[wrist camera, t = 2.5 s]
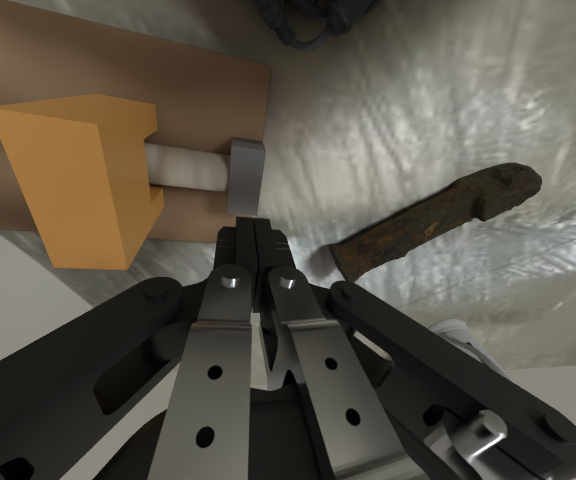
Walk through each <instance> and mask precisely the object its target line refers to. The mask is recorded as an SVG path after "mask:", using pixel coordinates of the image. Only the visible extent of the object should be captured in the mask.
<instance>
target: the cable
mask: <svg viewBox="0 0 576 480" xmlns="http://www.w3.org/2000/svg"><path fill="white" fill-rule="evenodd" d="M289 1H290V2H291V3H292V4H293V5H294V6H295V7H296V8H298V9H299V10H300V11H301V12H303V13H304V14H306V15H307V16H309V17H311V18H313V19H315V20H317V21H320V22H322V23H326V29H325V30H324V31H323V32H322V33H321V34H320V35H319V36H318V37H317V38H315V39H314V40H312V41H310V42H306V43H305V42H301V41H298V40H297V39H296V34H295V32H294V31H293V29H292V28H291V26H290V25H289V24H288V22H287V20H286V16H285V13H284V11H283V4H284V0H253V2H254V4H255V6H256V7H257V9H258V11H259V12H260V14H261V15H262V17H263V19H264V20H265V22H266V23H267V24H268V26H269V27H270V28H271V29H272V30H273V31H276V32H277V35H278V37H279V38H280V40H282V42H283V43H284V45H286V46H288V45H290V46H292V47H293V48H295V49H297V50H299V51H311V50H314V49H316V48H318V47H319V46H321V45H322V44H323V43H324V42H326V41H327V40H328V39H329V38H330V37H331V36H332V35H333V36H337V35H339V34H344V33H346V32H348V31H349V30H350V28H351V27H352V25H353V24H354V23H355V22H356V21H357V20H358V19H359V18H361V17H362V16H364V15H365V14H367V13H369V12H370V11H371V10H372V9H374V8H375V7H376V6H377V5H378V4H379V3H380V2H381V1H382V0H333V1H334V2H333V3H332V4H331V5H330V7H329V8H326V7H322V6H320V5H319V1H318V0H289Z"/></svg>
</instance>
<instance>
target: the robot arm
mask: <svg viewBox="0 0 576 480" xmlns="http://www.w3.org/2000/svg"><path fill="white" fill-rule="evenodd" d="M252 308H253V313H260V325H259V334H260V340H261V346H262V351H263V357H264V363H265V368H266V374H267V384H268V387H267V391H266V390H260V389H255V388H250V378H251V343H252V325H250V317H251V310H252ZM356 330H357V331H358V332H359V333H361V334H362V335H364V336H365V337H366V338H368V339H369V340H370V341H372V342H373V343H374V344H376V345H377V346H378V347H380V348H381V349H383V350H384V351H385V352H387V353H388V354H389V355H390V356H391V357H392V359H393V361H388V360H385V359H384V358H382V357H381V356H380V355H378V354H377V353H376V352H374V351H373V350H372V349H370V348H369V347H368V346H366V345H365V344H364V343H362V342H361V341H360V340H358V339H357V338H356V337H354V334H355V332H356ZM180 361H181V362H180ZM179 362H180V366H179V369H178V373H177V377H176V380H175V383H174V387H173V391H172V394H171V398H170V401H169V405H168V408H167V409H166V410H165V411H163V412H161V413H160V414H158V415H157V416H155V417H154V418H152V419H151V420H150V421H148V422H147V423H146V424H145V425H143V426H142V427H141V428H140V429H139V430H138V431H137V432H136V433H135V434H133V435H132V436H131V437H130V438H129V440H128V441H127V442H126V443H125V444H124V445H123V446H122V447H121V448H120V449H119V450H118V452H117V453H116V454H115V455H114V456H113V457H112V458H111V459H110V460H109V462H108V463H107V464H106V465H105V466H104V467H103V469H101V471H100V472H99V473H98V474H97V475H96V476H95V477H94V478H93V479H92V480H571V479H573V478H576V426H575V425H574V424H573V423H572V422H571V421H570V420H568V419H567V418H566V417H565V416H564V415H562V414H561V413H560V412H558V411H557V410H556V409H554V408H553V407H551V406H549V405H548V404H546V403H544V402H543V401H541V400H540V399H538V398H537V397H535V396H533V395H532V394H530V393H529V392H527V391H526V390H524V389H522V388H521V387H519V386H518V385H516V384H514V383H513V382H511V381H510V380H508V379H507V378H505V377H503V376H502V375H500V374H499V373H497V372H495V371H494V370H492V369H491V368H489V367H487V366H486V365H484V364H483V363H481V362H479V361H478V360H476V359H475V358H473V357H472V356H470V355H468V354H467V353H465V352H464V351H462V350H460V349H459V348H457V347H456V346H454V345H452V344H451V343H449V342H448V341H446V340H444V339H443V338H441V337H440V336H438V335H437V334H435V333H433V332H432V331H430V330H429V329H427V328H425V327H424V326H422V325H421V324H419V323H417V322H416V321H414V320H413V319H411V318H410V317H408V316H406V315H405V314H403V313H402V312H400V311H398V310H397V309H395V308H394V307H392V306H390V305H389V304H387V303H386V302H384V301H382V300H381V299H379V298H378V297H376V296H375V295H373V294H371V293H370V292H368V291H367V290H365V289H363V288H362V287H360V286H359V285H357V284H355V283H352V282H349V281H336V282H334V283H333V284H332V285H331V287H330V289H327V288H323V287H319V286H316V285H313V284H310V283H309V282H308V280H307V278H306V276H305V275H304V274H303V273H302V272H301V271H299V270H298V269H296V266H295V263H294V260H293V257H292V254H291V250H290V247H289V244H288V241H287V238H286V236H285V235H284V234H283V233H282V232H281V231H280V230H273V229H272V228H271V224H270V220H269V219H265V218H253V219H252V218H251V217H238V216H236V224H235V227H228V226H223V227H222V228H221V229H220V230H219V231H218V235H217V243H216V251H215V259H214V267H213V270H212V271H211V273H210V274H209V277H208V278H207V279H205V280H204V281H202V282H199V283H197V284H193V285H188V286H184V287H182V285H181V284H180V283H179V282H178V281H177V280H175V279H172V278H169V277H154V278H150V279H147V280H144V281H142V282H140V283H138V284H136V285H134V286H133V287H131V288H129V289H127V290H125V291H124V292H122V293H120V294H118V295H116V296H115V297H113V298H111V299H109V300H108V301H106V302H104V303H102V304H100V305H99V306H97V307H95V308H93V309H91V310H90V311H88V312H86V313H84V314H83V315H81V316H79V317H77V318H75V319H74V320H72V321H70V322H68V323H67V324H65V325H63V326H61V327H59V328H57V329H56V330H54V331H52V332H50V333H49V334H47V335H45V336H43V337H41V338H40V339H38V340H36V341H34V342H33V343H31V344H29V345H27V346H25V347H24V348H22V349H20V350H18V351H16V352H15V353H13V354H11V355H9V356H8V357H6V358H4V359H2V360H0V480H59V479H60V478H61V477H62V476H63V475H64V474H65V473H66V472H67V471H68V470H70V469H71V467H73V466H74V465H75V464H76V463H77V462H78V461H79V460H80V459H81V458H82V457H83V456H84V455H85V454H86V453H87V452H88V451H89V450H90V449H91V448H92V447H93V446H94V445H95V444H96V443H97V442H98V441H99V440H100V439H101V438H102V437H103V436H104V435H106V434H107V432H109V431H110V430H111V429H112V428H113V426H115V425H116V424H117V423H118V422H119V421H120V420H121V419H122V418H123V417H124V416H125V415H126V414H127V413H128V412H129V411H130V410H131V409H132V408H133V407H134V406H135V405H136V404H137V403H138V402H139V401H140V400H141V399H142V398H143V397H145V396H146V395H147V394H148V393H149V392H150V391H151V390H152V389H153V388H154V387H155V386H156V385H157V384H158V383H159V382H160V381H161V380H162V379H163V378H164V377H165V376H166V375H167V374H168V373H169V372H170V371H171V370H172V369H173V368H174V367H175V366H176V365H177V364H178V363H179Z"/></svg>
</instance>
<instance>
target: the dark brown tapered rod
mask: <svg viewBox="0 0 576 480" xmlns="http://www.w3.org/2000/svg"><path fill="white" fill-rule="evenodd" d="M541 185H542V179H541V176H540V175H538V174H537V173H536V172H535V171H534V170H533V169H532V168H531V167H529V166H525V165H521V164H518V163H511V162H510V163H505V164H501V165H497V166H494V167H490V168H486V169H484V170H481V171H479V172H477V173H475V174H472V175H469V176H466V177H463V178H460V179H458V180H456V181H454V182H453V183H452V186H451V188H450V189H449V190H447V191H446V192H444V193H442V194H440V195H439V196H436V197H434V198H432V199H430V200H427V201H425V202H423V203H421V204H419V205H417V206H414V207H412V208H411V209H409V210H408V211H406V212H404V213H403V214H401V215H399V216H397V217H395V218H393V219H391V220H389V221H387V222H383V223H382V224H380V225H378V226H376V227H373V228H372V229H370V230H369V231H367V232H366V233H363V234H361V235H359V236H358V237H356V238H354V239H352V240H350V241H348V242H346V243H344V244H342V245H334V244H330V250H331V253H332V256H333V259H334V261H335V263H336V266H337V268H338V270H339V271H340V272H341V274H342V275H343V277H344V279H345V280H346V281H349V282H352V283H354V282H355V281H356V280H357V279H358V278H359V277H360V276H362V275H363V274H364V273H365V272H368V271H370V270H371V269H373V268H376V267H378V266H380V265H383V264H384V263H386V262H388V261H391V260H394V259H399V258H401V257H404V256H405V255H406V254H407V253H408V251H410V250H412V249H415V248H416V247H418V246H420V245H422V244H424V243H426V242H428V241H429V240H431V239H433V238H435V237H438V236H440V235H441V234H443V233H445V232H447V231H449V230H451V229H454V228H456V227H458V226H461V225H462V224H464V223H466V222H470V221H472V219H473V218H478V219H479V220H481V221H483V222H485V221H487V220H489V219H492V218H494V217H495V216H497V215H499V214H500V213H503V212H505V211H509V210H511V209H512V208H513V207H514V206H519V205H520V204H522V203H523V202H525V200H527V199H528V198H530V197H533V196H534V195H535V194H536V193H538V192H539V190H540V189H541V188H540V186H541Z"/></svg>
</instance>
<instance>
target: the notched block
mask: <svg viewBox="0 0 576 480" xmlns="http://www.w3.org/2000/svg"><path fill="white" fill-rule="evenodd" d="M157 130H158V126H157V115H156V105H155V104H150V103H144V102H139V101H134V100H128V99H123V98H117V97H112V96H107V95H101V94H89V95H81V96H73V97H65V98H57V99H49V100H40V101H32V102H24V103H16V104H8V105H0V140H1V142H2V144H3V147H4V149H5V152H6V154H7V156H8V159H9V161H10V164H11V166H12V168H13V171H14V173H15V176H16V178H17V181H18V183H19V185H20V188H21V190H22V193H23V195H24V197H25V200H26V202H27V205H28V207H29V209H30V212H31V214H32V217H33V219H34V222H35V224H36V226H37V229H38V231H39V234H40V236H41V238H42V241H43V243H44V246H45V248H46V250H47V253H48V255H49V258H50V260H51V263H52V265H53V267H54V268H76V269H106V270H128V268H129V267H130V265H131V263H132V261H133V260H134V258H135V256H136V254H137V253H138V251H139V249H140V247H141V246H142V244H143V242H144V240H145V239H146V237H147V235H148V233H149V232H150V230H151V228H152V227H153V225H154V223H155V221H156V220H157V218H158V216H159V214H160V213H161V211H162V209H163V207H164V196H163V188H160V187H151V186H149V179H148V170H147V162H146V153H145V145H144V139H145V138H147V137H148V136H150V135H151V134H153V133H154V132H156V131H157Z"/></svg>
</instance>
